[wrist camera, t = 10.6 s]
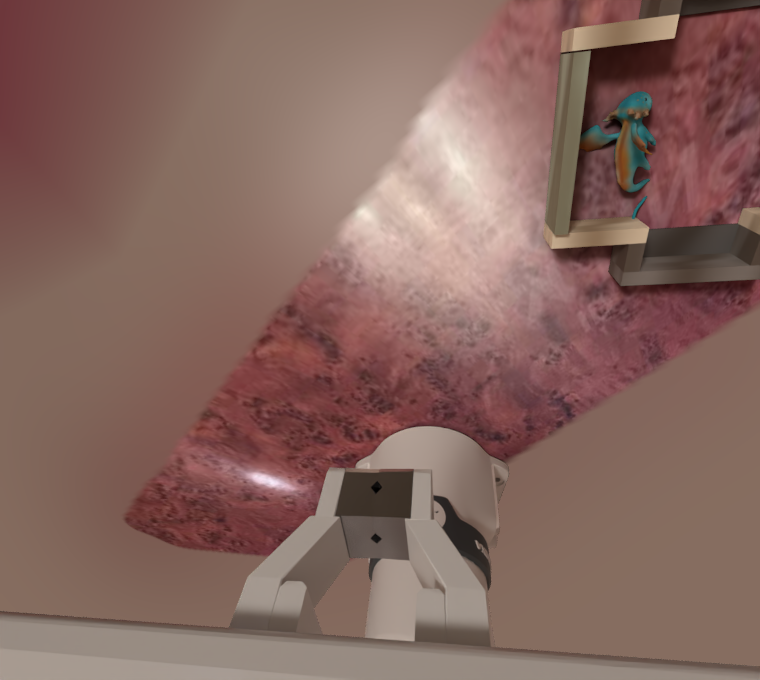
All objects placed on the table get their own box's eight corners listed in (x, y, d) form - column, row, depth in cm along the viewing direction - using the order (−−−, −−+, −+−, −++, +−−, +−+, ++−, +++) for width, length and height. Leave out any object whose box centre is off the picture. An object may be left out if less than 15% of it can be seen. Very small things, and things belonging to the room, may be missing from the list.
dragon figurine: (728, 142, 31) (683, 73, 27) (672, 235, 32) (621, 184, 28) (643, 142, 37) (595, 86, 32) (598, 222, 38) (546, 178, 33)
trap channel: (918, -93, 25) (984, -114, 22) (776, 262, 36) (807, 279, 33) (569, -38, 27) (585, -50, 24) (539, 275, 39) (548, 292, 36)
